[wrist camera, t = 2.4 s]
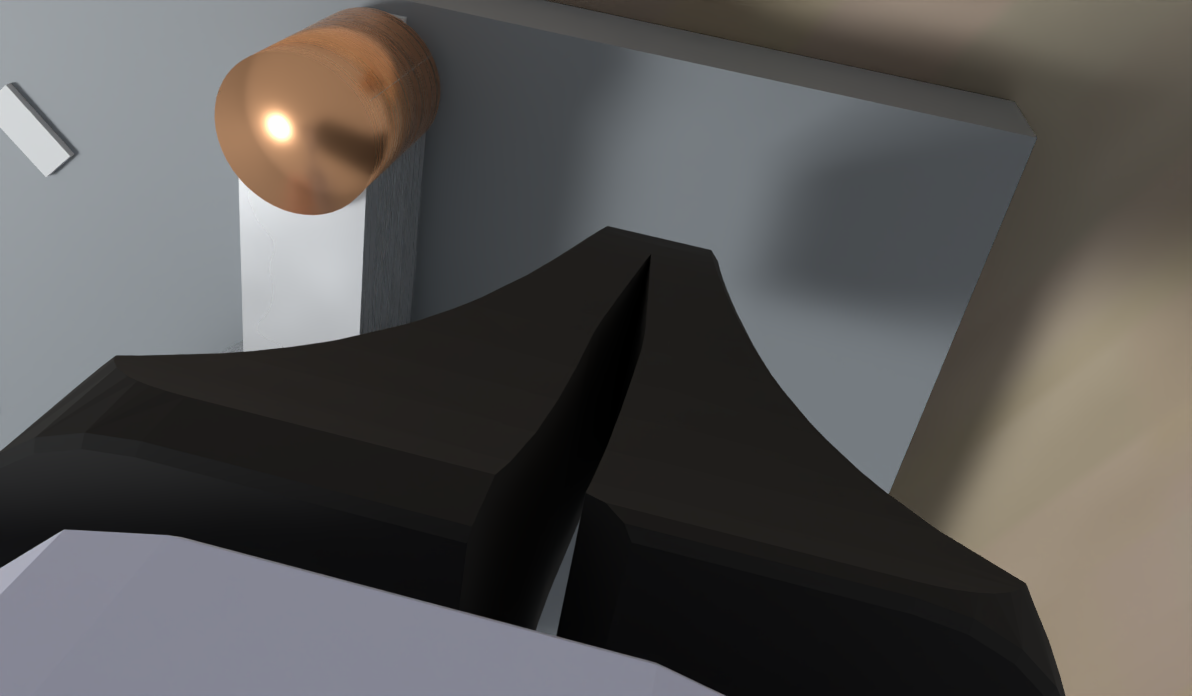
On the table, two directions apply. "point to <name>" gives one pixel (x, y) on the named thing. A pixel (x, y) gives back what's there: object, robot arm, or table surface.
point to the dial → (328, 177)
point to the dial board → (508, 190)
